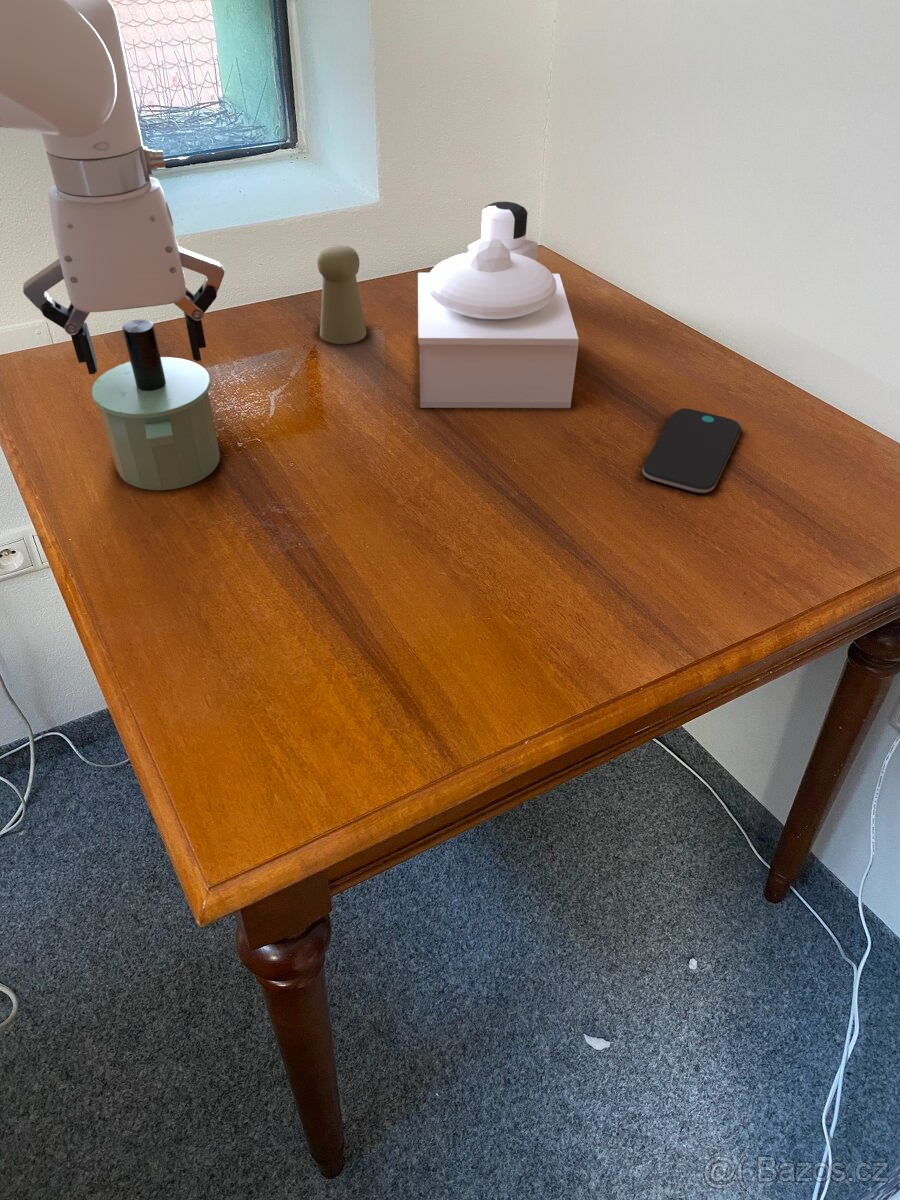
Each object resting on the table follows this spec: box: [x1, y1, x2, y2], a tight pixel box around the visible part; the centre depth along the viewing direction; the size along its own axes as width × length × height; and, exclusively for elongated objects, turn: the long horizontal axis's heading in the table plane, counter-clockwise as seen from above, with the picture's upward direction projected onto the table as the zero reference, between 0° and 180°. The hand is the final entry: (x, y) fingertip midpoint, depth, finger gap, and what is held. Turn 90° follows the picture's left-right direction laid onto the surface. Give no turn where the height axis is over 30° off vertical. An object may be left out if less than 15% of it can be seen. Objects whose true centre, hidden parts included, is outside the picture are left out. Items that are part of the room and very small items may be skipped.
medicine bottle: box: [466, 201, 539, 261], centre depth 120 cm, size 7×7×12 cm
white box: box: [417, 239, 580, 409], centre depth 102 cm, size 18×18×16 cm
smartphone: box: [642, 407, 742, 495], centre depth 94 cm, size 8×1×15 cm
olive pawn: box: [316, 244, 367, 345], centre depth 110 cm, size 6×6×11 cm
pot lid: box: [91, 319, 212, 418], centre depth 84 cm, size 11×11×7 cm
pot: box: [98, 392, 221, 491], centre depth 89 cm, size 10×16×8 cm, turn 18°
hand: (145, 361), depth 84 cm, fingers open, 9 cm apart
